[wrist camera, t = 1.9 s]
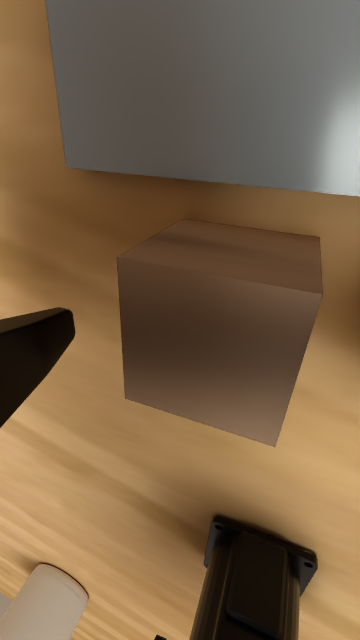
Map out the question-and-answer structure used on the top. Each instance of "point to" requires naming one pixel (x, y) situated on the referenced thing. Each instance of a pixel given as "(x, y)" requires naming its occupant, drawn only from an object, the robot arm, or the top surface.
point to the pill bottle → (44, 607)
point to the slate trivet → (211, 90)
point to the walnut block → (218, 323)
